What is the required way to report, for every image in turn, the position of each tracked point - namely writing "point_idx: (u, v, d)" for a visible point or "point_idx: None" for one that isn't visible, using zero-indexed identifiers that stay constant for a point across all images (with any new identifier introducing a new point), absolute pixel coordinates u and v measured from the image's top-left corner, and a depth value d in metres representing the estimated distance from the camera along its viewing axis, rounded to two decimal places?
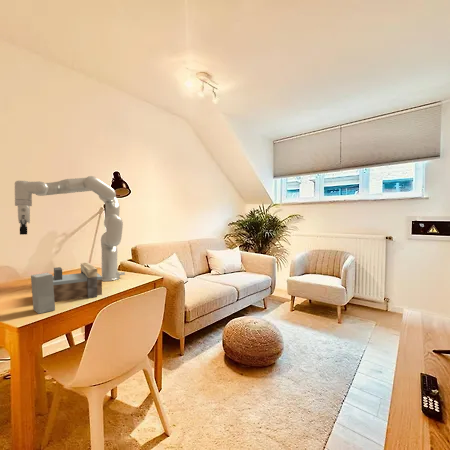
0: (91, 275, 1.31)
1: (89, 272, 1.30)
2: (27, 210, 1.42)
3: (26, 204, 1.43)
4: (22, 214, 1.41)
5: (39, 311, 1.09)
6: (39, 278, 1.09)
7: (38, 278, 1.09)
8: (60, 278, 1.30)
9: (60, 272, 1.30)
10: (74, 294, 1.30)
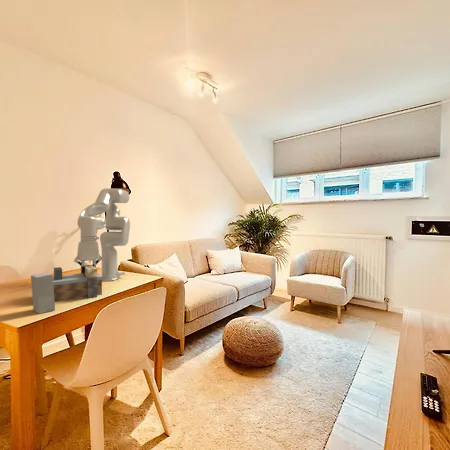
0: (91, 275, 1.31)
1: (89, 272, 1.30)
2: None
3: None
4: None
5: (39, 311, 1.09)
6: (39, 278, 1.09)
7: (38, 278, 1.09)
8: (60, 278, 1.30)
9: (60, 272, 1.30)
10: (74, 294, 1.30)
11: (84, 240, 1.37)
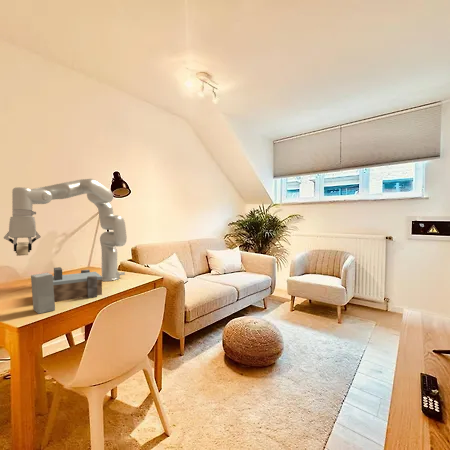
0: (20, 253, 1.14)
1: (17, 249, 1.13)
2: None
3: None
4: (35, 228, 1.26)
5: (39, 311, 1.09)
6: (39, 278, 1.09)
7: (38, 278, 1.09)
8: (60, 278, 1.30)
9: (60, 272, 1.30)
10: (74, 294, 1.30)
11: (16, 214, 1.20)
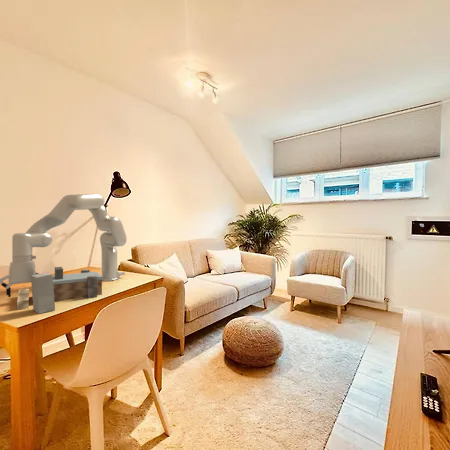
0: (21, 307, 1.14)
1: (18, 304, 1.14)
2: None
3: None
4: (35, 271, 1.26)
5: (39, 311, 1.09)
6: (39, 278, 1.09)
7: (38, 278, 1.09)
8: (61, 277, 1.30)
9: (61, 271, 1.30)
10: (74, 294, 1.30)
11: (15, 260, 1.20)
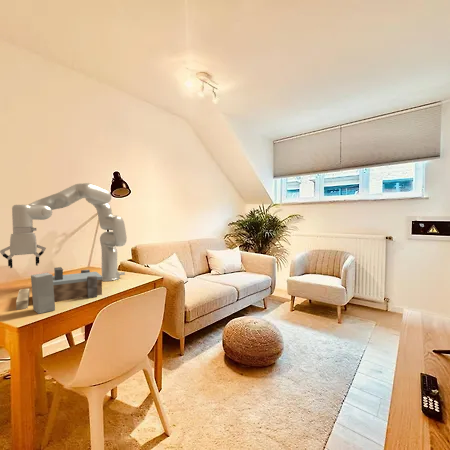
0: (20, 308, 1.14)
1: (17, 304, 1.13)
2: None
3: None
4: (36, 243, 1.26)
5: (39, 311, 1.09)
6: (39, 278, 1.09)
7: (38, 278, 1.09)
8: (61, 278, 1.30)
9: (61, 272, 1.30)
10: (74, 294, 1.30)
11: (16, 232, 1.20)
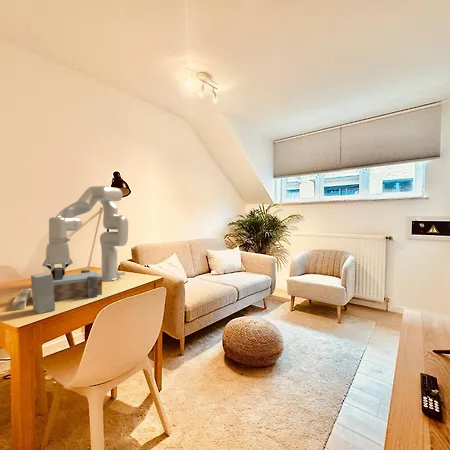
0: (16, 308, 1.13)
1: (14, 305, 1.13)
2: None
3: None
4: None
5: (39, 311, 1.09)
6: (39, 278, 1.09)
7: (38, 278, 1.09)
8: (60, 278, 1.30)
9: (60, 272, 1.30)
10: (74, 294, 1.30)
11: (52, 242, 1.28)
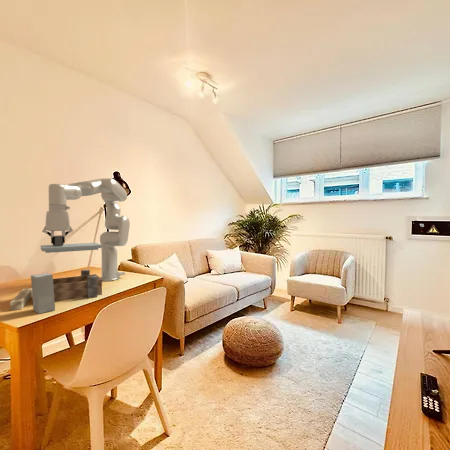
0: (14, 308, 1.13)
1: (11, 305, 1.13)
2: None
3: None
4: None
5: (39, 311, 1.09)
6: (39, 278, 1.09)
7: (38, 278, 1.09)
8: (60, 245, 1.29)
9: (60, 239, 1.29)
10: (74, 294, 1.30)
11: (52, 209, 1.28)
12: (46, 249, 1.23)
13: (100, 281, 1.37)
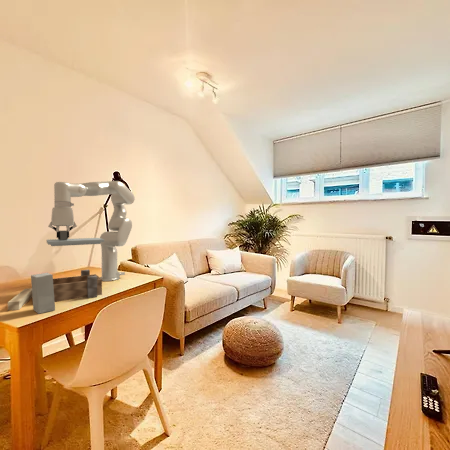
0: (11, 309, 1.13)
1: (8, 305, 1.12)
2: None
3: None
4: None
5: (39, 311, 1.09)
6: (39, 278, 1.09)
7: (38, 278, 1.09)
8: (65, 239, 1.38)
9: (65, 233, 1.38)
10: (74, 294, 1.30)
11: (58, 205, 1.37)
12: (52, 243, 1.32)
13: (100, 281, 1.37)
